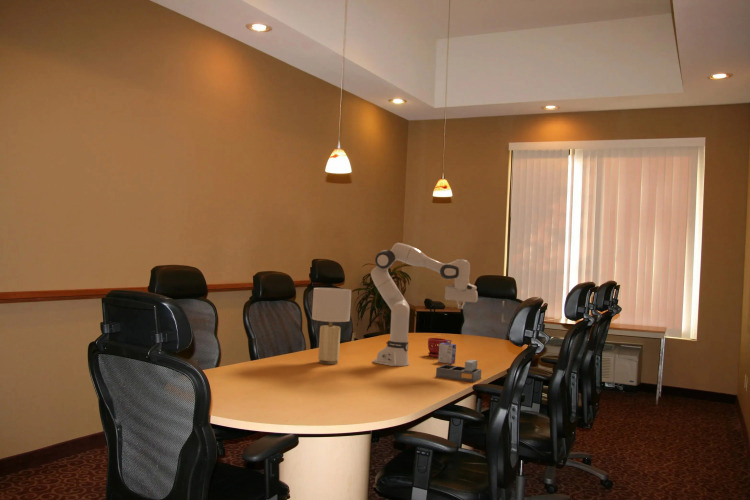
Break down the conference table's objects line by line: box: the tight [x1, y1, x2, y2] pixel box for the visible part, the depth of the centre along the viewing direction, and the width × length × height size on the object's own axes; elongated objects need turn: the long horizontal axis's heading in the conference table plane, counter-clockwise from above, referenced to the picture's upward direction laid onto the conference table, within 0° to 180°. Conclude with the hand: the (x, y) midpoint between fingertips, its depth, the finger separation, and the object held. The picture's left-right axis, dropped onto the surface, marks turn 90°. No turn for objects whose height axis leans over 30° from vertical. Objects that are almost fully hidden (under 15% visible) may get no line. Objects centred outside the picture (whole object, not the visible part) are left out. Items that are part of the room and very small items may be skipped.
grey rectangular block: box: [464, 359, 478, 373], centre depth 351 cm, size 4×10×9 cm, turn 153°
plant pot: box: [427, 337, 449, 358], centre depth 424 cm, size 13×13×12 cm
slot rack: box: [435, 363, 482, 383], centre depth 354 cm, size 22×14×5 cm, turn 63°
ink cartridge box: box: [437, 339, 457, 365], centre depth 401 cm, size 10×6×14 cm, turn 56°
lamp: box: [311, 287, 352, 366], centre depth 375 cm, size 23×23×44 cm
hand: (460, 308), depth 379 cm, fingers closed
